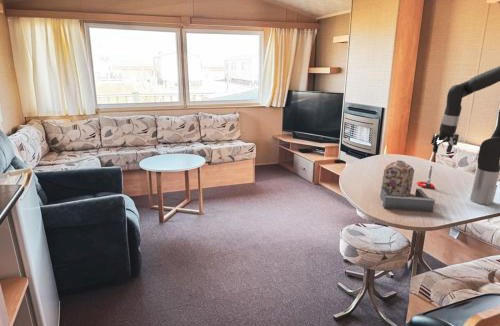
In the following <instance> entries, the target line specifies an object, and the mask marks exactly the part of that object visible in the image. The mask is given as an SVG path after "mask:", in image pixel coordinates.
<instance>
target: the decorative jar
mask: <svg viewBox="0 0 500 326" xmlns="http://www.w3.org/2000/svg"><path fill="white" fill-rule="evenodd" d="M414 173H415V169H414V168H413V166H411V165H410V164H408V163H406V161H404V160H399V159H398V160H396V161H394V162H389V163H388V164H387V165H386V166H385V168H384V169H383V174H382V175H383V176H382V182H381V187H382V186H386V187H387V189H388V190H389V192H390V193H391V195H397V196H409V195H410V194H411V192H412V191H411V190H412V186H413V180H414V175H415V174H414Z"/></svg>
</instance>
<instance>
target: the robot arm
mask: <svg viewBox="0 0 500 326" xmlns="http://www.w3.org/2000/svg"><path fill="white" fill-rule="evenodd" d="M499 82H500V65H499V66H497V67H495V68H492V69H489V70H487V71H485V72H483V73H480V74H478V75H475V76H474V77H472V78H470V79H469V80H466V81H464V82H461V83H459V84H455V85H452V86H451V87H450V88H449V90H448V91H447V97H446V105H445V110H444V114H443V116H442V118H441V123H440V126H439V133H434V134H433V135H432V139H431V142H430V144H431V145H432V146H433V148H432V152H433V153H434V154H437V153H438V150H439V146H440V145H441V144H442V145H443V143H447V144H448V145H447V147H446V150H445V151H446V153H448V154H449V153H451V152H452V149H453V147H454V146H457V144H458V140H459V136H460V135H459V134H458V133H456V132H457V128H458V124H459V119H460V116H461V112H462V101H463V98H465V97H467V96H469V95H471V94H473V93H475V92H478V91H481V90H483V89H487V88H489V87H490V86H493V85H495V84H497V83H499ZM496 124H497V125H496V127H495V130H494V131H493V133H492V135H491V137H489V138H487V139H485V140H483V141H482V143H481V144H480V146H479V150H478V155H477V168H476V173H475V177H474V180H473V184H472V185H473V186H472V188H471V193H470V198H469V200H470V201H471V202H473V203H477V204H479V205H486V206H490V205H492V204H493V203H494V200H495V196H496V192H497V188H498V184H497V182H498V180H499V179H498V178H499V176H500V108H499V110H498V113H497V123H496Z"/></svg>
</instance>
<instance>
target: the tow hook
mask: <svg viewBox="0 0 500 326" xmlns="http://www.w3.org/2000/svg"><path fill="white" fill-rule="evenodd" d="M432 172H433V165H430V169H429V171H428V178H427V181H417V183H416V185H418V186H419V187H421V188H426V189H435V188H436V187H435V185H434V184H433V183H431V181H432V179H431V178H432Z"/></svg>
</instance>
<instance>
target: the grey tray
mask: <svg viewBox="0 0 500 326" xmlns="http://www.w3.org/2000/svg"><path fill="white" fill-rule="evenodd" d="M414 194H415V195H414V196H410V195H407V196H397V195H391V193H390V192H389V190H388V189H387V187H386V186H382V185H381V189H380V194H379V195H380V196H379V197H380V199H381V201H382V208H383V209H386V210H397V211H398V210H399V211H412V212H425V213H433V211H434V206H435V201H436V199H435V198H432V197H429V196H428V195H427V194H426V193H425V192H424V191H423V190H422V189H421V188H416V189H415V193H414Z"/></svg>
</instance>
